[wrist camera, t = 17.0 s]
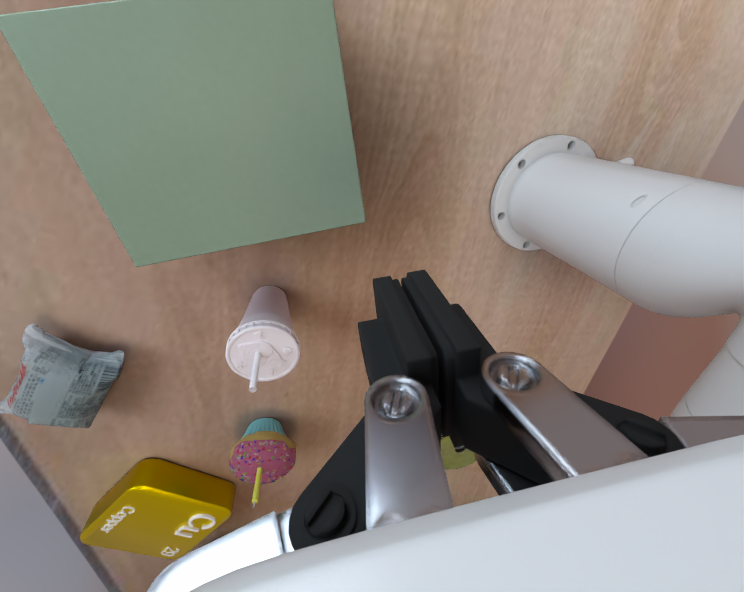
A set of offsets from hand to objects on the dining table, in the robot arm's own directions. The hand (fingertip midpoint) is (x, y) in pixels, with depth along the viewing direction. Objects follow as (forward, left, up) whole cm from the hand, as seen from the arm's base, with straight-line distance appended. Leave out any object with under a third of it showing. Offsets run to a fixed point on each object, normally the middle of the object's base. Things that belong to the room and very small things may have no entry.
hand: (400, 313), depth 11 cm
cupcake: (+21, +29, -25) cm, 44 cm away
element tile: (+40, +35, -25) cm, 59 cm away
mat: (-5, +49, -25) cm, 56 cm away
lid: (+6, -6, -16) cm, 18 cm away
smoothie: (+11, +10, -25) cm, 30 cm away
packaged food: (+34, +9, -25) cm, 44 cm away
